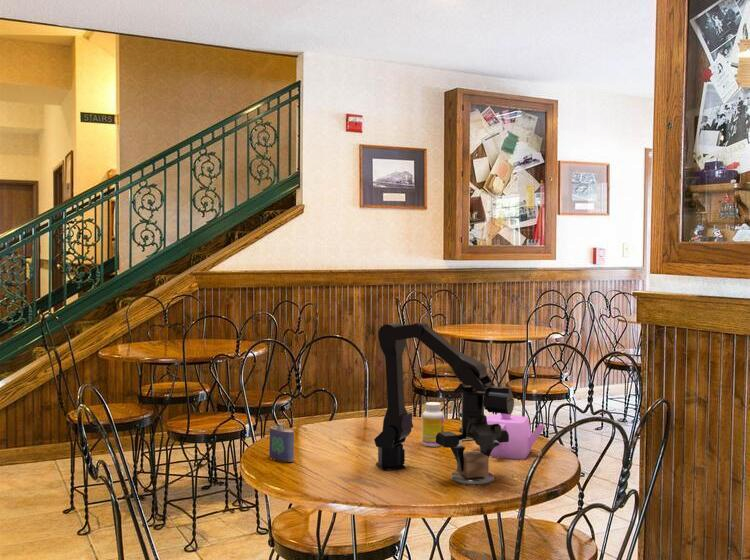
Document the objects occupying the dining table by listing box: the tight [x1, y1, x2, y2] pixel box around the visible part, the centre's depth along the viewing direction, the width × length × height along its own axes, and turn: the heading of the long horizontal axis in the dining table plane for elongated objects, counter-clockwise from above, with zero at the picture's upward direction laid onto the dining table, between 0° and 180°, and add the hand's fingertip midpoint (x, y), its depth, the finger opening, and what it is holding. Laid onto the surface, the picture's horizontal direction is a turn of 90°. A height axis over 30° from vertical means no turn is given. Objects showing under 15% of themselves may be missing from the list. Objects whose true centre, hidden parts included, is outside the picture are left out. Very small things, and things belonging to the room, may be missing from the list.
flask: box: [268, 422, 295, 463], centre depth 208 cm, size 9×3×11 cm, turn 50°
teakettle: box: [478, 413, 546, 460], centre depth 216 cm, size 17×17×12 cm
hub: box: [450, 470, 495, 487], centre depth 190 cm, size 11×11×4 cm
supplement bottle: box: [421, 401, 445, 448], centre depth 226 cm, size 7×7×13 cm
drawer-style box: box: [456, 450, 490, 478], centre depth 190 cm, size 6×6×5 cm
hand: (472, 469), depth 190 cm, fingers closed on drawer-style box, 6 cm apart
